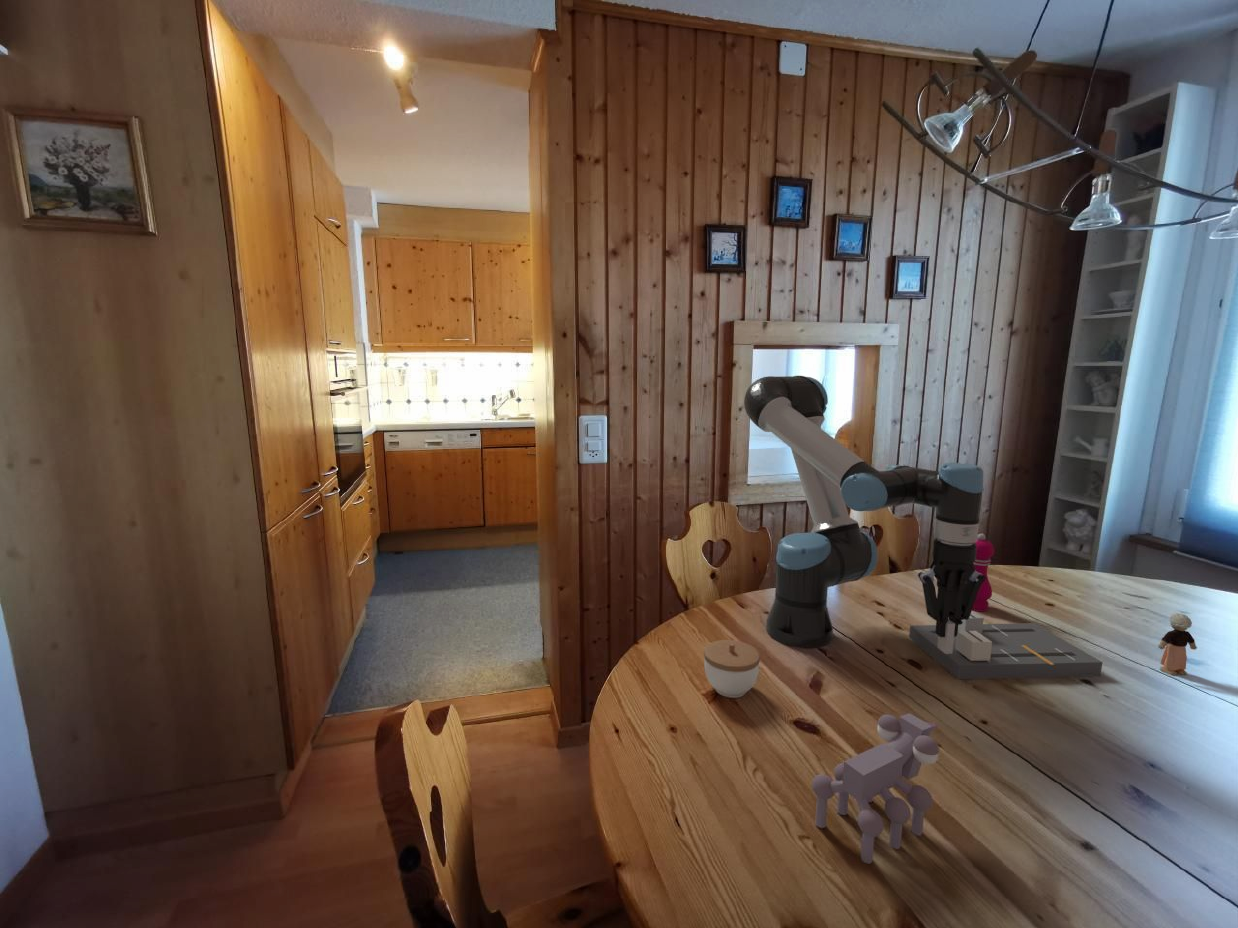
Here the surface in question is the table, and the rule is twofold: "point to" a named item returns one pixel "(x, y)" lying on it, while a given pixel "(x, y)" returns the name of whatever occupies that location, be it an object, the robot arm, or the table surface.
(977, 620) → the fader rear
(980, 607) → the pepper mill
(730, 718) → the table surface
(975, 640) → the fader front
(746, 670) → the lidded jar
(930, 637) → the console
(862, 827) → the toy sheep
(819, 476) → the robot arm
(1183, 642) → the grandmother figurine
